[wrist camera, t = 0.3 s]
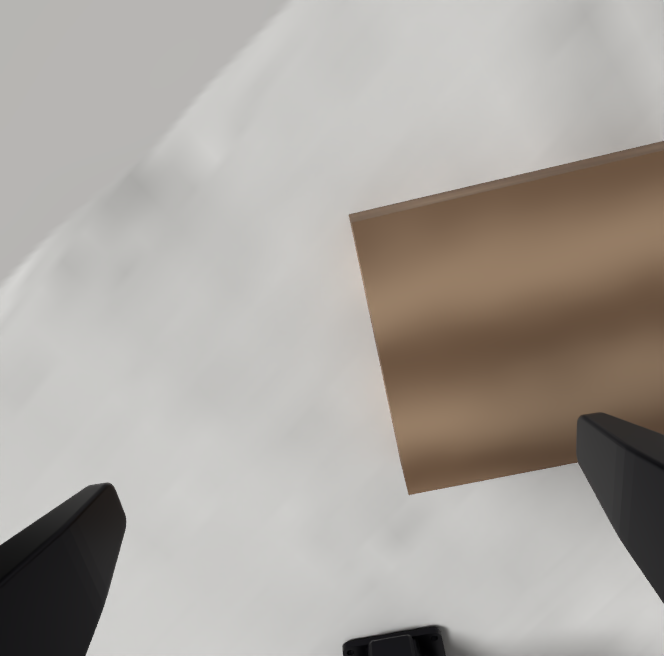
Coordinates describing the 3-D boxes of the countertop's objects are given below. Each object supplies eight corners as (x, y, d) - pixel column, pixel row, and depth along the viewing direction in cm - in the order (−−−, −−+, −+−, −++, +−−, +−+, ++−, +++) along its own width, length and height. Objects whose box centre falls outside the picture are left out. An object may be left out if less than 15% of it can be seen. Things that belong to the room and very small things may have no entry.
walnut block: (651, 408, 26) (690, 440, 23) (399, 458, 27) (408, 494, 24) (655, 141, 21) (706, 140, 18) (348, 213, 22) (351, 222, 19)
